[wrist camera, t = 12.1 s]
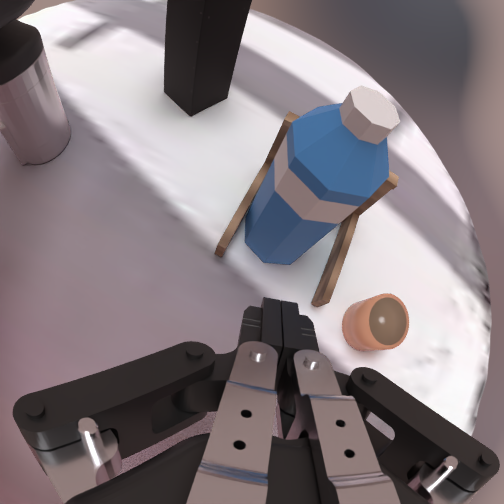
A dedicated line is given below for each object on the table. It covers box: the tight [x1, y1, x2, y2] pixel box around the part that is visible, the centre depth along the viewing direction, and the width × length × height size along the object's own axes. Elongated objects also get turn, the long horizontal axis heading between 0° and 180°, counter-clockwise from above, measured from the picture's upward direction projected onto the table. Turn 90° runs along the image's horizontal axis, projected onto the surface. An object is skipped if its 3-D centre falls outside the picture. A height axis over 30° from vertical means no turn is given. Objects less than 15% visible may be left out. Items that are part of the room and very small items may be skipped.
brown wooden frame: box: [215, 111, 399, 307], centre depth 36 cm, size 15×15×13 cm
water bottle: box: [245, 86, 400, 265], centre depth 30 cm, size 9×9×25 cm
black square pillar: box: [164, 0, 252, 116], centre depth 34 cm, size 8×8×28 cm
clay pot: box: [342, 294, 409, 351], centre depth 38 cm, size 7×7×6 cm
